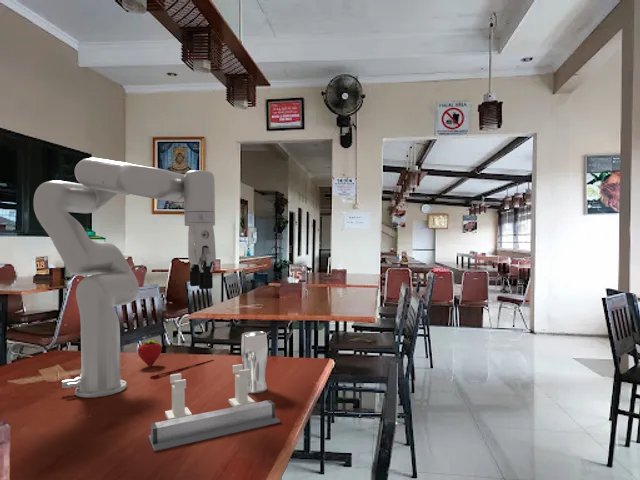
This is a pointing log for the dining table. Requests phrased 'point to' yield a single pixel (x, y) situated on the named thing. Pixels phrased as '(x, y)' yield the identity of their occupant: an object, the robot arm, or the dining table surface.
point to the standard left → (178, 398)
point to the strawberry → (149, 351)
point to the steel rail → (211, 421)
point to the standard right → (241, 387)
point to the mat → (213, 434)
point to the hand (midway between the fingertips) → (200, 287)
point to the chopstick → (176, 370)
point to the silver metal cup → (255, 359)
